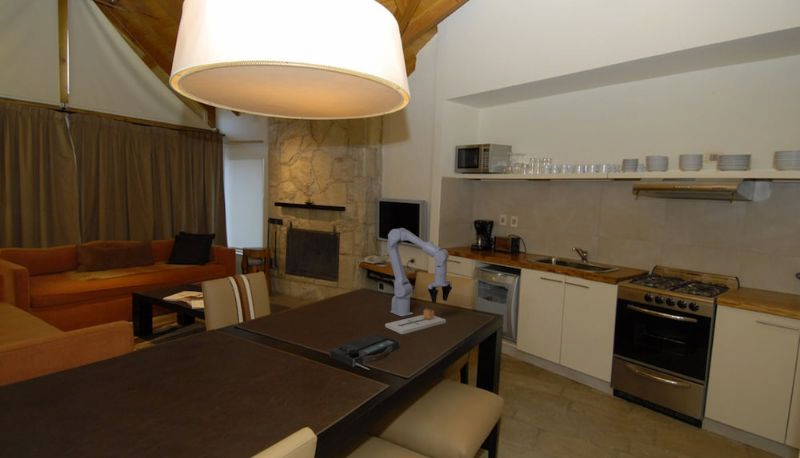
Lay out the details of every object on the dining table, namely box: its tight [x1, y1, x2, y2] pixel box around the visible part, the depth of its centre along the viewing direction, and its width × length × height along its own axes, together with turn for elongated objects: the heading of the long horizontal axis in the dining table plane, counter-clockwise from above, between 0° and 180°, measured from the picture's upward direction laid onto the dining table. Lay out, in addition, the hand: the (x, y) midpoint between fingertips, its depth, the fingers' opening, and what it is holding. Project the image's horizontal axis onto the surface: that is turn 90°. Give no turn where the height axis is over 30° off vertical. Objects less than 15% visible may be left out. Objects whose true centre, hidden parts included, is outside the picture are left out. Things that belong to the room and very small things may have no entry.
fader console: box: [384, 314, 447, 335], centre depth 191 cm, size 12×28×2 cm, turn 130°
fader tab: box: [423, 307, 435, 319], centre depth 196 cm, size 4×3×4 cm
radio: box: [329, 333, 400, 371], centre depth 155 cm, size 25×4×20 cm
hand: (439, 301), depth 199 cm, fingers open, 7 cm apart
